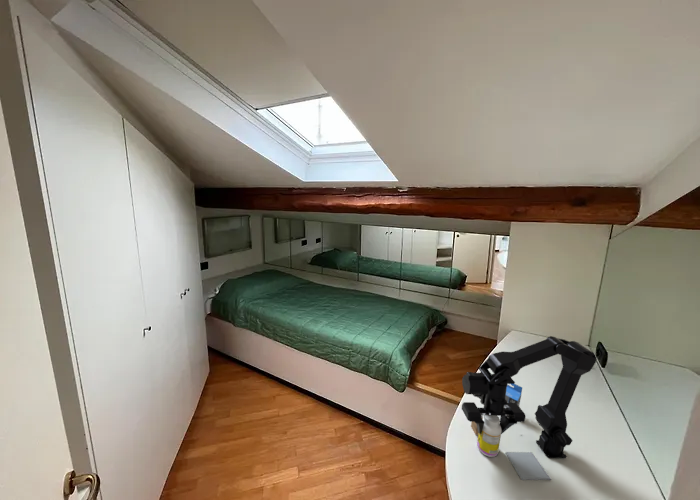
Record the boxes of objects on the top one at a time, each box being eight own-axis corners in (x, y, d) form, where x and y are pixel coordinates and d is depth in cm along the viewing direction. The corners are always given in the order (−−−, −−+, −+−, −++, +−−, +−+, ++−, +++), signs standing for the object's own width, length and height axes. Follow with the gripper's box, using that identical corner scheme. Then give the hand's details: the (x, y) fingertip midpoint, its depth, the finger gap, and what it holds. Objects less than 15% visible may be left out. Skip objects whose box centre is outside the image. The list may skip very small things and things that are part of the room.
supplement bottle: (479, 437, 103) (484, 406, 101) (500, 448, 99) (505, 416, 97) (474, 450, 98) (478, 417, 96) (495, 462, 94) (500, 428, 91)
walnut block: (481, 426, 108) (482, 417, 108) (486, 435, 104) (487, 426, 104) (470, 426, 108) (472, 417, 107) (475, 435, 104) (476, 426, 104)
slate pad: (531, 453, 98) (532, 452, 97) (550, 479, 89) (550, 478, 89) (505, 453, 97) (505, 451, 97) (521, 479, 89) (521, 478, 88)
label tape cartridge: (491, 406, 118) (495, 380, 116) (495, 402, 121) (499, 376, 118) (514, 419, 112) (519, 391, 109) (518, 414, 115) (522, 387, 112)
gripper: (510, 377, 102) (504, 415, 105) (457, 376, 102) (453, 414, 105) (529, 399, 91) (522, 441, 94) (471, 399, 91) (465, 440, 94)
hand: (489, 433), depth 97 cm, fingers closed on supplement bottle, 7 cm apart
